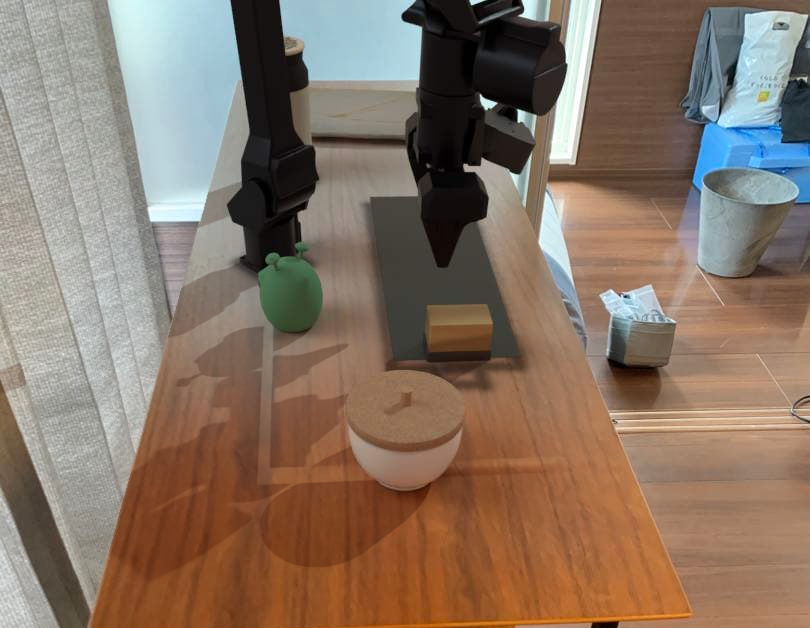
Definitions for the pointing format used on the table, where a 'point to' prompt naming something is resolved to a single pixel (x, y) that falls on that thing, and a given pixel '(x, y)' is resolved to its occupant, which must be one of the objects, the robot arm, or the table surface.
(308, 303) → the alien toy
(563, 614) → the table surface
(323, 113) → the decorative slab
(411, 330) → the board
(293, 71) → the travel mug
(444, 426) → the trinket box
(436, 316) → the eraser
